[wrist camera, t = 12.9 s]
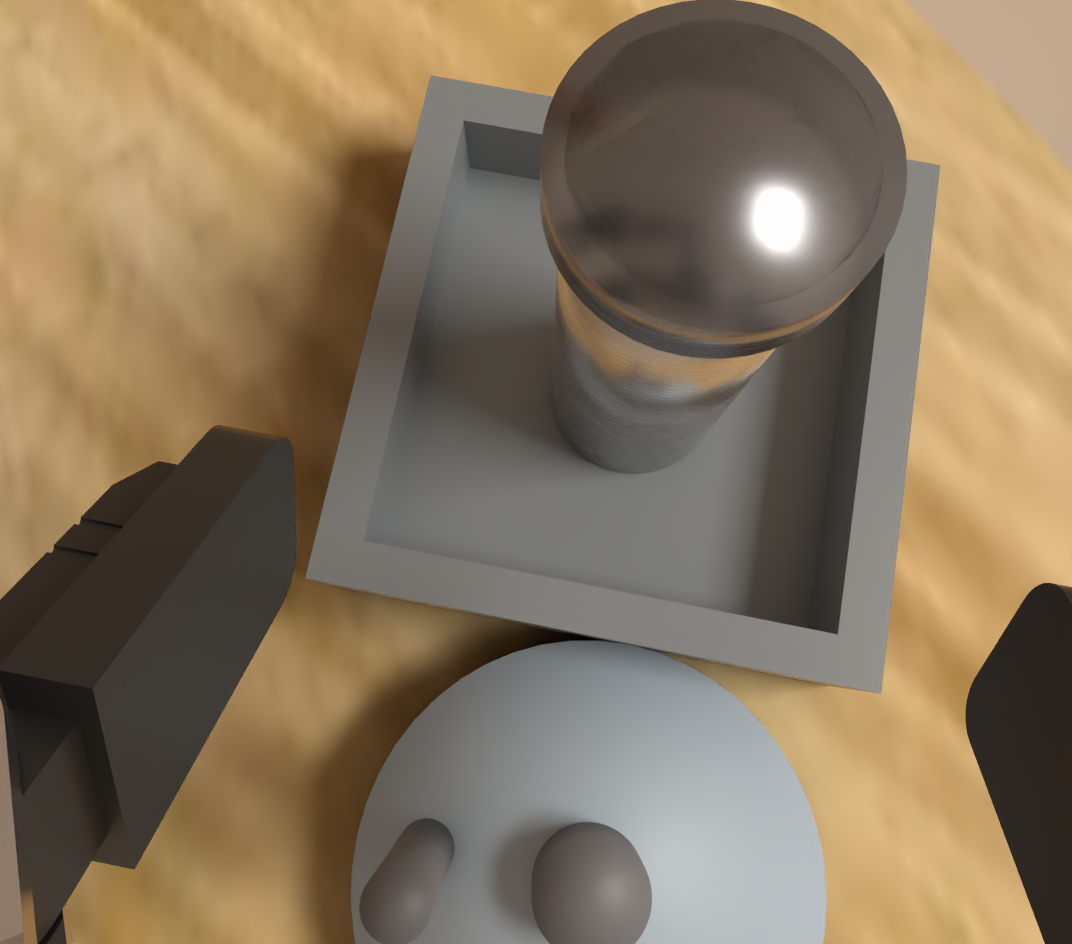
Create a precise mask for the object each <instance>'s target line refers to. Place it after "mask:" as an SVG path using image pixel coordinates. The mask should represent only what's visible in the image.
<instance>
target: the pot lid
mask: <svg viewBox="0 0 1072 944" xmlns="http://www.w3.org/2000/svg"><path fill="white" fill-rule="evenodd" d="M826 903H827V896H826V880H825V865H824V860H823V855H822V849H821V844H820V839H819V833H818V830H817V827H816V824H815V820H814V817H813V814H812V811H811V808H810V805H809V801H808V799H807V797H806V795H805V793H804V790H803V788H802V786H801V784H800V782H799V779H798V777H797V775H796V773H795V771H794V769H793V768H792V766H791V764H790V763H789V761H788V759H787V758H786V756H785V754H784V753H783V751H782V750H781V748H780V746H779V745H778V743H777V742H776V741H775V740H774V738H773V737H772V736H771V734H770V733H769V732H768V731H767V729H766V728H765V727H764V726H763V724H762V723H761V722H760V721H759V719H758V718H757V717H756V716H755V715H754V714H753V713H752V712H750V711H749V710H748V709H747V708H746V707H745V706H744V705H743V704H742V703H741V702H740V701H739V700H738V699H737V698H736V697H735V696H734V695H732V694H731V693H730V692H728V691H727V690H726V689H724V688H723V687H722V686H720V685H719V684H718V683H717V682H715V681H714V680H713V679H711V678H709V677H708V676H706V675H704V674H702V673H701V672H699V671H697V670H695V669H694V668H692V667H690V666H689V665H687V664H685V663H682V662H680V661H678V660H675V659H673V658H670V657H668V656H666V655H663V654H661V653H658V652H655V651H651V650H647V649H644V648H640V647H636V646H633V645H629V644H621V643H613V642H606V641H564V642H557V643H549V644H542V645H538V646H534V647H531V648H527V649H523V650H520V651H516V652H513V653H511V654H508V655H506V656H504V657H501V658H499V659H497V660H494V661H492V662H490V663H487V664H485V665H483V666H482V667H480V668H478V669H477V670H475V671H473V672H472V673H470V674H468V675H467V676H465V677H463V678H461V679H460V680H458V681H457V682H456V683H455V684H453V685H452V686H451V687H450V688H448V689H447V690H446V691H444V692H443V693H442V694H441V695H439V696H438V697H437V698H436V699H435V700H434V701H433V702H432V703H431V704H430V705H429V706H428V707H427V708H426V709H425V710H424V711H423V712H422V713H421V714H420V715H419V716H418V717H417V718H416V719H415V720H414V721H413V722H412V724H411V725H410V726H409V728H408V729H407V730H406V731H405V733H404V734H403V735H402V737H401V738H400V739H399V741H398V742H397V743H396V745H395V746H394V748H393V749H392V751H391V753H390V755H389V756H388V758H387V760H386V762H385V763H384V765H383V767H382V768H381V770H380V772H379V774H378V776H377V779H376V781H375V783H374V786H373V788H372V790H371V793H370V795H369V797H368V800H367V802H366V805H365V809H364V812H363V816H362V819H361V822H360V826H359V829H358V833H357V838H356V845H355V851H354V857H353V863H352V878H351V910H352V922H353V934H354V939H355V944H823V940H824V934H825V920H826Z"/></svg>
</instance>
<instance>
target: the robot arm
mask: <svg viewBox="0 0 1072 944" xmlns="http://www.w3.org/2000/svg"><path fill="white" fill-rule="evenodd" d="M295 558H296V524H295V488H294V457H293V449H292V445H291V443H290V441H289V440H288V439H287V438H285V437H279V436H274V435H269V434H263V433H258V432H253V431H247V430H242V429H237V428H232V427H226V426H221V425H218V426H214V427H213V428H211V429H210V430H209V431H208V432H207V433H206V434H205V435H204V437H203V438H202V439H201V440H200V441H199V442H198V443H197V444H196V446H195V447H194V448H193V449H192V450H191V451H190V452H189V453H188V454H187V456H186V457H185V458H184V459H183V460H182V461H181V462H180V463H179V465H175V464H170V463H165V462H159V461H158V462H156V463H154V464H152V465H150V466H148V467H146V468H144V469H143V470H141V471H139V472H137V473H135V474H133V475H131V476H129V477H127V478H125V479H123V480H121V481H119V482H117V483H116V484H114V485H112V486H111V487H110V488H109V489H108V490H107V491H106V492H105V493H104V494H103V495H102V496H101V497H100V498H99V499H98V500H97V501H96V502H95V504H94V505H93V506H92V507H91V508H90V509H89V510H88V511H87V512H86V513H85V514H84V515H83V516H82V517H81V521H80V524H79V525H76V524H74V525H73V526H72V527H71V528H70V529H69V530H68V531H67V532H66V533H65V534H64V535H63V536H62V537H61V538H60V539H59V540H58V541H57V542H56V543H55V544H54V550H53V552H52V553H49V552H47V553H46V554H45V555H44V556H43V557H42V558H41V559H40V560H39V561H38V562H37V563H36V564H35V565H34V566H33V567H32V568H31V569H30V570H29V571H28V572H27V573H26V574H25V575H24V576H23V577H22V578H21V579H20V580H19V581H18V582H17V583H16V584H15V585H14V587H13V588H12V589H11V590H10V591H9V592H8V593H7V594H6V595H5V596H4V597H3V598H2V599H1V600H0V944H73V939H72V932H71V924H70V916H69V910H68V906H67V900H68V899H69V897H70V896H71V894H72V892H73V891H74V889H75V887H76V886H77V884H78V882H79V881H80V879H81V877H82V876H83V874H84V873H85V871H86V869H87V868H88V866H89V864H90V863H91V861H96V862H101V863H106V864H111V865H116V866H121V867H126V868H131V869H135V867H136V866H137V864H138V862H139V860H140V859H141V857H142V855H143V853H144V851H145V850H146V848H147V846H148V844H149V842H150V841H151V839H152V837H153V835H154V833H155V832H156V830H157V828H158V826H159V824H160V823H161V821H162V819H163V817H164V815H165V814H166V812H167V810H168V808H169V807H170V805H171V803H172V801H173V799H174V798H175V796H176V794H177V792H178V790H179V789H180V787H181V785H182V783H183V781H184V780H185V778H186V776H187V774H188V772H189V771H190V769H191V767H192V765H193V763H194V762H195V760H196V758H197V756H198V755H199V753H200V751H201V749H202V747H203V746H204V744H205V742H206V740H207V738H208V737H209V735H210V733H211V731H212V729H213V728H214V726H215V724H216V722H217V720H218V719H219V717H220V715H221V713H222V711H223V710H224V708H225V706H226V704H227V702H228V701H229V699H230V697H231V695H232V694H233V692H234V690H235V688H236V686H237V685H238V683H239V681H240V679H241V677H242V676H243V674H244V672H245V670H246V668H247V667H248V665H249V663H250V661H251V659H252V658H253V656H254V654H255V652H256V650H257V649H258V647H259V645H260V643H261V642H262V640H263V638H264V636H265V634H266V633H267V631H268V629H269V627H270V625H271V624H272V622H273V620H274V618H275V616H276V615H277V613H278V611H279V609H280V607H281V606H282V604H283V602H284V599H285V597H286V595H287V592H288V589H289V586H290V583H291V579H292V575H293V571H294V565H295ZM966 728H967V734H968V737H969V741H970V744H971V746H972V749H973V752H974V754H975V757H976V760H977V762H978V765H979V768H980V770H981V773H982V776H983V779H984V781H985V784H986V787H987V789H988V792H989V795H990V797H991V800H992V803H993V805H994V808H995V811H996V813H997V816H998V819H999V821H1000V824H1001V827H1002V829H1003V832H1004V835H1005V838H1006V840H1007V843H1008V846H1009V848H1010V851H1011V854H1012V856H1013V859H1014V862H1015V864H1016V867H1017V870H1018V872H1019V875H1020V878H1021V880H1022V883H1023V886H1024V889H1025V891H1026V894H1027V897H1028V899H1029V902H1030V905H1031V907H1032V910H1033V913H1034V915H1035V918H1036V921H1037V923H1038V926H1039V929H1040V931H1041V934H1042V937H1043V939H1044V942H1045V944H1072V587H1068V586H1062V585H1057V584H1052V583H1043V584H1041V585H1038V586H1037V587H1035V588H1034V589H1033V590H1032V591H1031V592H1030V593H1029V594H1028V595H1027V596H1026V598H1025V599H1024V601H1023V602H1022V604H1021V605H1020V607H1019V609H1018V610H1017V612H1016V613H1015V615H1014V617H1013V618H1012V620H1011V621H1010V623H1009V625H1008V626H1007V628H1006V629H1005V631H1004V633H1003V634H1002V636H1001V637H1000V639H999V641H998V642H997V644H996V645H995V647H994V649H993V650H992V652H991V653H990V655H989V657H988V658H987V660H986V661H985V663H984V664H983V666H982V668H981V669H980V671H979V672H978V674H977V676H976V677H975V679H974V681H973V683H972V685H971V688H970V691H969V694H968V698H967V704H966Z"/></svg>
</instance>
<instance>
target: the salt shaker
mask: <svg viewBox="0 0 1072 944" xmlns="http://www.w3.org/2000/svg"><path fill="white" fill-rule="evenodd" d="M906 187H907V160H906V150H905V144H904V140H903V136H902V132H901V128H900V125H899V122H898V120H897V117H896V115H895V112H894V110H893V107H892V105H891V103H890V101H889V99H888V98H887V96H886V94H885V92H884V91H883V89H882V87H881V85H880V84H879V83H878V81H877V80H876V79H875V77H874V76H873V75H872V73H871V72H870V71H869V69H868V68H867V67H866V66H865V65H864V64H863V63H862V62H861V61H860V60H859V59H858V58H857V57H856V55H855V54H854V53H853V52H852V51H850V50H849V49H848V48H847V47H845V46H844V45H843V44H842V43H841V42H839V41H838V40H837V39H836V38H834V37H833V36H831V35H830V34H828V33H827V32H825V31H824V30H822V29H820V28H819V27H817V26H816V25H814V24H812V23H810V22H808V21H806V20H804V19H801V18H799V17H797V16H795V15H793V14H790V13H787V12H784V11H781V10H779V9H776V8H773V7H769V6H765V5H760V4H756V3H752V2H744V1H736V0H695V1H686V2H680V3H675V4H671V5H667V6H662V7H659V8H656V9H653V10H650V11H647V12H645V13H642V14H639V15H637V16H635V17H633V18H631V19H629V20H627V21H625V22H623V23H621V24H619V25H618V26H616V27H615V28H613V29H612V30H610V31H609V32H607V33H606V34H604V35H603V36H601V37H600V38H599V39H598V40H597V41H596V42H594V43H593V44H592V45H591V46H590V47H589V48H588V49H587V50H585V51H584V52H583V54H582V55H581V56H580V57H579V58H578V59H577V61H576V62H575V63H574V64H573V65H572V66H571V67H570V69H569V70H568V72H567V74H566V75H565V77H564V78H563V80H562V81H561V83H560V84H559V86H558V88H557V90H556V93H555V95H554V97H553V99H552V101H551V103H550V106H549V109H548V113H547V116H546V119H545V123H544V127H543V133H542V140H541V152H540V212H541V219H542V226H543V231H544V234H545V238H546V241H547V245H548V248H549V251H550V253H551V255H552V257H553V260H554V262H555V264H556V266H557V279H556V295H555V312H554V329H553V345H552V362H551V378H550V402H551V409H552V412H553V416H554V419H555V421H556V424H557V426H558V428H559V430H560V432H561V433H562V435H563V437H564V438H565V439H566V441H567V442H568V443H569V444H570V446H571V447H572V448H573V449H574V450H576V451H577V452H578V453H579V454H580V455H581V456H583V457H584V458H585V459H587V460H588V461H590V462H592V463H594V464H595V465H597V466H600V467H602V468H605V469H607V470H611V471H615V472H619V473H627V474H642V473H650V472H654V471H658V470H662V469H664V468H666V467H669V466H671V465H673V464H675V463H677V462H678V461H680V460H682V459H683V458H684V457H685V456H687V455H688V454H689V453H690V452H691V451H692V450H693V449H694V448H695V447H696V446H697V445H698V444H699V443H700V441H701V440H702V439H703V438H704V436H705V435H706V434H707V433H708V432H709V430H710V429H711V428H712V427H713V425H714V424H715V423H716V422H717V420H718V419H719V418H720V417H721V415H722V414H723V413H724V412H725V411H726V409H727V408H728V407H729V406H730V404H731V403H732V402H733V401H734V399H735V398H736V397H737V396H738V394H739V393H740V392H741V391H742V390H743V388H744V387H745V386H746V385H747V383H748V382H749V381H750V380H751V378H752V377H753V376H754V375H755V374H756V372H757V371H758V370H759V369H760V367H761V366H762V365H763V364H764V362H765V361H766V360H767V359H768V357H769V356H770V355H771V354H772V353H773V351H774V350H775V349H776V348H777V347H779V346H782V345H784V344H787V343H789V342H792V341H793V340H795V339H797V338H799V337H800V336H802V335H804V334H806V333H807V332H809V331H811V330H812V329H813V328H815V327H816V326H817V325H819V324H820V323H821V322H822V321H824V320H825V319H826V318H827V317H828V316H829V315H830V314H831V313H832V312H833V311H834V310H835V309H836V308H837V307H838V306H839V305H840V304H841V303H842V302H843V301H844V300H845V299H846V298H847V297H848V296H849V294H850V293H851V292H852V291H853V290H854V289H855V288H856V287H857V285H858V284H859V283H860V282H861V281H862V280H863V279H864V278H865V277H866V275H867V274H868V273H869V272H870V271H871V270H872V268H873V267H874V266H875V264H876V263H877V262H878V260H879V259H880V257H881V256H882V255H883V253H884V252H885V250H886V248H887V246H888V244H889V243H890V241H891V239H892V237H893V235H894V233H895V231H896V228H897V225H898V222H899V219H900V217H901V214H902V210H903V205H904V200H905V195H906Z"/></svg>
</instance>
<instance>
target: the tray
mask: <svg viewBox="0 0 1072 944" xmlns="http://www.w3.org/2000/svg"><path fill="white" fill-rule="evenodd" d="M552 99H553V97H550V96H544V95H539V94H533V93H527V92H522V91H516V90H510V89H505V88H499V87H493V86H488V85H482V84H476V83H471V82H465V81H459V80H454V79H448V78H442V77H437V76H431V77H430V81H429V85H428V89H427V93H426V97H425V101H424V105H423V109H422V113H421V117H420V121H419V125H418V129H417V133H416V137H415V141H414V145H413V149H412V153H411V157H410V161H409V165H408V169H407V173H406V177H405V181H404V185H403V189H402V193H401V197H400V201H399V205H398V209H397V213H396V217H395V221H394V225H393V229H392V233H391V237H390V241H389V245H388V249H387V253H386V257H385V261H384V265H383V269H382V273H381V277H380V281H379V285H378V289H377V293H376V297H375V301H374V305H373V309H372V313H371V317H370V321H369V325H368V329H367V333H366V337H365V341H364V345H363V349H362V353H361V357H360V361H359V365H358V369H357V373H356V377H355V381H354V385H353V389H352V393H351V397H350V401H349V405H348V409H347V413H346V417H345V421H344V425H343V429H342V433H341V436H340V440H339V444H338V448H337V452H336V456H335V460H334V464H333V468H332V472H331V476H330V480H329V484H328V488H327V492H326V496H325V500H324V504H323V508H322V512H321V516H320V520H319V524H318V528H317V532H316V536H315V540H314V544H313V548H312V552H311V556H310V560H309V564H308V568H307V572H306V576H305V578H306V579H309V580H313V581H317V582H320V583H324V584H327V585H331V586H334V587H338V588H343V589H348V590H353V591H358V592H363V593H368V594H373V595H378V596H383V597H388V598H393V599H398V600H403V601H408V602H413V603H418V604H423V605H428V606H433V607H438V608H443V609H448V610H453V611H458V612H463V613H468V614H473V615H478V616H483V617H488V618H493V619H498V620H503V621H508V622H513V623H518V624H523V625H528V626H533V627H538V628H543V629H548V630H553V631H558V632H563V633H568V634H573V635H578V636H583V637H588V638H593V639H598V640H603V641H608V642H613V643H621V644H629V645H633V646H636V647H640V648H644V649H648V650H653V651H658V652H663V653H668V654H673V655H678V656H683V657H688V658H693V659H698V660H703V661H708V662H713V663H718V664H723V665H728V666H732V667H737V668H742V669H747V670H752V671H757V672H762V673H767V674H772V675H777V676H782V677H787V678H792V679H797V680H802V681H807V682H812V683H817V684H822V685H827V686H833V687H840V688H847V689H854V690H860V691H867V692H874V693H881V690H882V681H883V672H884V663H885V654H886V645H887V636H888V627H889V618H890V609H891V600H892V591H893V582H894V573H895V564H896V555H897V546H898V538H899V529H900V520H901V511H902V502H903V493H904V484H905V475H906V466H907V457H908V448H909V439H910V430H911V421H912V412H913V403H914V394H915V385H916V377H917V368H918V359H919V350H920V341H921V332H922V323H923V314H924V305H925V296H926V287H927V278H928V269H929V260H930V251H931V242H932V233H933V225H934V216H935V207H936V198H937V189H938V180H939V171H940V165H936V164H930V163H924V162H919V161H913V160H907V159H906V160H907V187H906V195H905V200H904V205H903V210H902V214H901V217H900V219H899V222H898V225H897V228H896V231H895V233H894V235H893V237H892V239H891V241H890V243H889V244H888V246H887V248H886V250H885V252H884V253H883V255H882V256H881V257H880V259H879V260H878V262H877V263H876V264H875V266H874V267H873V268H872V270H871V271H870V272H869V273H868V274H867V275H866V277H865V278H864V279H863V280H862V281H861V282H860V283H859V284H858V285H857V287H856V288H855V289H854V290H853V291H852V292H851V293H850V294H849V296H848V297H847V298H846V299H845V300H844V301H843V302H842V303H841V304H840V305H839V306H838V307H837V308H836V309H835V310H834V311H833V312H832V313H831V314H830V315H829V316H828V317H827V318H826V319H825V320H824V321H822V322H821V323H820V324H819V325H817V326H816V327H815V328H813V329H812V330H811V331H809V332H807V333H806V334H804V335H802V336H800V337H799V338H797V339H795V340H793V341H792V342H789V343H787V344H784V345H782V346H779V347H777V348H776V349H775V350H774V351H773V353H772V354H771V355H770V356H769V357H768V359H767V360H766V361H765V362H764V364H763V365H762V366H761V367H760V369H759V370H758V371H757V372H756V374H755V375H754V376H753V377H752V378H751V380H750V381H749V382H748V383H747V385H746V386H745V387H744V388H743V390H742V391H741V392H740V393H739V394H738V396H737V397H736V398H735V399H734V401H733V402H732V403H731V404H730V406H729V407H728V408H727V409H726V411H725V412H724V413H723V414H722V415H721V417H720V418H719V419H718V420H717V422H716V423H715V424H714V425H713V427H712V428H711V429H710V430H709V432H708V433H707V434H706V435H705V436H704V438H703V439H702V440H701V441H700V443H699V444H698V445H697V446H696V447H695V448H694V449H693V450H692V451H691V452H690V453H689V454H688V455H687V456H685V457H684V458H683V459H682V460H680V461H678V462H677V463H675V464H673V465H671V466H669V467H666V468H664V469H662V470H658V471H654V472H650V473H642V474H627V473H619V472H615V471H611V470H607V469H605V468H602V467H600V466H597V465H595V464H594V463H592V462H590V461H588V460H587V459H585V458H584V457H583V456H581V455H580V454H579V453H578V452H577V451H576V450H574V449H573V448H572V447H571V446H570V444H569V443H568V442H567V441H566V439H565V438H564V437H563V435H562V433H561V432H560V430H559V428H558V426H557V424H556V421H555V419H554V416H553V412H552V409H551V402H550V378H551V362H552V345H553V329H554V312H555V295H556V279H557V266H556V264H555V262H554V260H553V257H552V255H551V253H550V251H549V248H548V245H547V241H546V238H545V234H544V231H543V226H542V219H541V212H540V152H541V140H542V133H543V127H544V123H545V119H546V116H547V113H548V109H549V106H550V103H551V101H552Z"/></svg>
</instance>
